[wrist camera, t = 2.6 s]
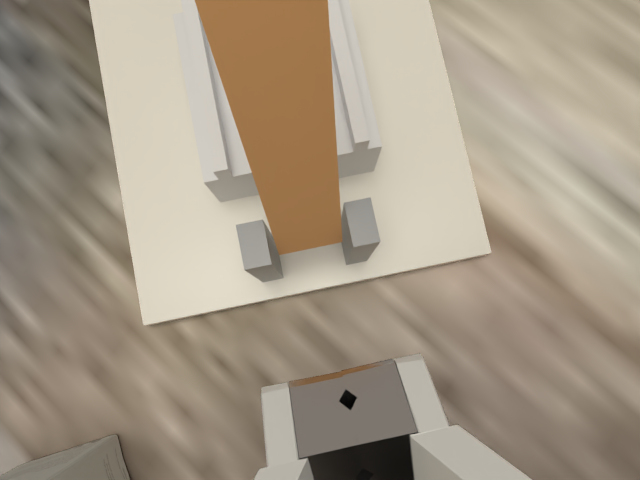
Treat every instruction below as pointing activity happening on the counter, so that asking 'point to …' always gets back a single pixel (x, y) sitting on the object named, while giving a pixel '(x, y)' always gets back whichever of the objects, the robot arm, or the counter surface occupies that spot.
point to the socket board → (209, 231)
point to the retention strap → (282, 110)
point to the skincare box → (76, 464)
